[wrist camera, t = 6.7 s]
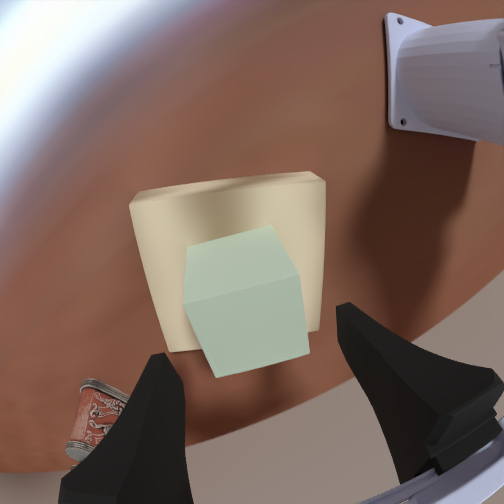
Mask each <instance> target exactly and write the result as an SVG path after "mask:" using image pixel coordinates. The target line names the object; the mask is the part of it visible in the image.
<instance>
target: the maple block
mask: <svg viewBox="0 0 504 504" xmlns="http://www.w3.org/2000/svg"><path fill="white" fill-rule="evenodd" d="M129 208H130V213H131V217H132V222H133V226H134V231H135V235H136V239H137V243H138V248H139V252H140V255H141V259H142V263H143V267H144V271H145V274H146V278H147V282H148V285H149V289H150V292H151V296H152V299H153V302H154V306H155V309H156V312H157V316H158V319H159V322H160V325H161V328H162V331H163V334H164V337H165V340H166V343H167V346H168V349H169V352H178V351H187V350H196V349H202V347H201V345H200V343H199V341H198V338H197V336H196V334H195V332H194V329H193V327H192V325H191V322H190V320H189V318H188V316H187V313H186V311H185V309H184V306H183V293H184V277H185V263H186V250H187V247H189V246H192V245H196V244H200V243H204V242H207V241H211V240H215V239H219V238H223V237H226V236H230V235H234V234H238V233H242V232H246V231H250V230H253V229H257V228H261V227H265V226H269V225H272V227H273V229H274V231H275V232H276V234H277V236H278V238H279V239H280V241H281V243H282V245H283V246H284V248H285V250H286V252H287V253H288V255H289V257H290V259H291V260H292V262H293V264H294V266H295V267H296V269H297V271H298V273H299V276H300V282H301V289H302V296H303V304H304V311H305V318H306V326H307V332H311V331H316V330H319V323H320V311H321V297H322V282H323V265H324V244H325V212H326V181H324V180H323V179H321V178H320V177H318V176H317V175H315V174H314V173H312V172H310V171H307V172H293V173H281V174H269V175H259V176H249V177H240V178H231V179H222V180H214V181H206V182H199V183H191V184H184V185H177V186H171V187H164V188H158V189H152V190H146V191H140V192H138V193H137V194H136V196H135V197H134V199H133V200H132V201H131V203H130V204H129Z"/></svg>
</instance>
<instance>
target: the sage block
mask: <svg viewBox="0 0 504 504" xmlns="http://www.w3.org/2000/svg"><path fill="white" fill-rule="evenodd" d="M183 306H184V309H185V311H186V313H187V316H188V318H189V320H190V322H191V325H192V327H193V329H194V332H195V334H196V336H197V338H198V341H199V343H200V345H201V347H202V349H203V352H204V354H205V356H206V358H207V360H208V362H209V364H210V366H211V369H212V371H213V373H214V375H215V377H216V378H218V377H222V376H227V375H231V374H236V373H240V372H244V371H248V370H252V369H256V368H260V367H264V366H268V365H271V364H275V363H279V362H282V361H286V360H290V359H293V358H296V357H300V356H303V355H307V354H310V350H309V342H308V334H307V326H306V318H305V311H304V304H303V296H302V289H301V282H300V276H299V273H298V271H297V269H296V267H295V266H294V264H293V262H292V260H291V259H290V257H289V255H288V253H287V252H286V250H285V248H284V246H283V245H282V243H281V241H280V239H279V238H278V236H277V234H276V232H275V231H274V229H273V227H272V225H269V226H265V227H261V228H257V229H253V230H250V231H246V232H242V233H238V234H234V235H230V236H226V237H223V238H219V239H215V240H211V241H207V242H204V243H200V244H196V245H192V246H189V247H187V250H186V263H185V277H184V293H183Z"/></svg>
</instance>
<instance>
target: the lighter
mask: <svg viewBox="0 0 504 504" xmlns="http://www.w3.org/2000/svg"><path fill="white" fill-rule="evenodd" d="M80 393H81V396H80V400H79V404H78V407H77V412H76V416H75V420H74V424H73V428H72V433H71V438H70V442H68V443H67V446H66V454H67V455H68V456H70V457H71V458H73V459H75V460H77V461H78V462H80V463H81V462H82V461H83V460H84V459H85V458H86V457H87V456H88V455H89V454H90V453H91V452H92V451H93V449H94V448H95V447H96V446H97V445H98V444H99V442H100V441H101V440H102V439H103V438H104V436H105V435H106V434H107V433H108V431H109V430H110V428H111V427H112V426H113V424H114V423H115V421H116V420H117V418H118V417H119V415H120V414H121V412H122V410H123V408H124V407H125V405H126V403H127V401H128V400H129V398H130V396H128V395H126V394H125V393H123V392H121V391H119V390H117V389H115V388H113V387H111V386H109V385H107V384H105V383H103V382H101V381H99V380H96V379H86V380H84V381H83V382H82V385H81V389H80ZM75 467H76V465H73V466H71V470H73V469H74V468H75Z"/></svg>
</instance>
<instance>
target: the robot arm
mask: <svg viewBox="0 0 504 504" xmlns="http://www.w3.org/2000/svg"><path fill="white" fill-rule="evenodd" d="M384 19H385V30H386V42H387V60H388V122H389V125H390V126H391V127H392V128H394V129H400V130H409V131H417V132H425V133H432V134H439V135H445V136H451V137H457V138H462V139H468V140H473V141H480V140H484V141H488V142H491V143H494V144H498V145H501V146H504V18H503V19H488V20H477V21H468V22H460V23H453V24H447V25H441V26H435V27H433V26H431V25H428V24H425V23H422V22H420V21H417V20H414V19H411V18H408V17H405V16H402V15H398V14H395V13H388V14H386V15H385V18H384ZM397 19H398V20H399V21H400V24H399V23H398V22H397ZM401 119H403V125H401ZM336 319H337V336H338V343H339V345H340V347H341V350H342V352H343V354H344V357H345V359H346V361H347V363H348V365H349V366H350V368H351V370H352V371H353V373H354V375H355V377H356V378H357V380H358V382H359V383H360V385H361V387H362V389H363V390H364V392H365V394H366V395H367V397H368V399H369V401H370V403H371V405H372V406H373V409H374V411H375V414H376V416H377V419H378V421H379V423H380V426H381V428H382V431H383V433H384V436H385V439H386V441H387V444H388V447H389V450H390V453H391V456H392V459H393V462H394V465H395V468H396V472H397V475H398V478H399V482H400V485H399V486H397V487H395V488H393V489H390V490H388V491H386V492H384V493H381V494H379V495H377V496H374V497H372V498H369V499H367V500H364V501H362V502H359V503H356V504H399V503H402V502H404V501H406V500H408V499H409V500H408V501H407V502H405V503H403V504H481V503H482V502H483V501H484V500H486V499H487V498H488V497H489V496H491V495H492V494H493V493H494V492H496V491H497V490H498V489H499V488H501V487H502V486H503V485H504V416H503V417H502V418H501V419H500V420H499V421H498V422H497V420H496V419H495V416H496V415H497V413H496V411H495V410H494V408H493V407H494V405H495V404H496V402H497V401H498V399H499V398H500V396H501V395H502V393H503V391H504V383H503V381H502V380H501V379H500V377H499V376H498V375H497V374H496V373H495V372H494V370H493V369H491V368H485V367H479V366H473V365H469V364H465V363H461V362H457V361H454V360H451V359H448V358H445V357H442V356H439V355H437V354H434V353H431V352H429V351H427V350H424V349H422V348H420V347H418V346H416V345H414V344H412V343H410V342H408V341H407V340H405V339H403V338H401V337H400V336H398V335H396V334H395V333H393V332H391V331H390V330H388V329H387V328H385V327H384V326H382V325H381V324H379V323H378V322H376V321H375V320H374V319H372V318H371V317H369V316H368V315H367V314H365V313H364V312H363V311H361V310H360V309H359V308H357V307H356V306H355V305H353V304H352V303H350V302H348V303H345V304H342V305H339V306H336ZM58 504H194V502H193V498H192V494H191V489H190V484H189V478H188V472H187V464H186V457H185V397H184V389H183V382H182V380H181V379H180V377H179V375H178V374H177V372H176V371H175V369H174V367H173V366H172V364H171V362H170V361H169V359H168V357H167V356H166V354H165V352H164V353H159V354H155V355H151V357H150V359H149V361H148V363H147V365H146V367H145V369H144V371H143V373H142V375H141V377H140V379H139V381H138V383H137V385H136V386H135V388H134V390H133V392H132V394H131V396H130V398H129V400H128V401H127V403H126V405H125V407H124V408H123V410H122V412H121V414H120V415H119V417H118V418H117V420H116V421H115V423H114V424H113V426H112V427H111V428H110V430H109V431H108V433H107V434H106V435H105V436H104V438H103V439H102V440H101V441H100V442H99V444H98V445H97V446H96V447H95V448H94V449H93V451H92V452H91V453H90V454H89V455H88V456H87V457H86V458H85V459H84V460H83V461H82V462H81V463H80V464H78V465H77V466H76V467H75V468H74V469H73V470H71V471H70V472H69V473H68V474H67V475H65V476H64V477H63V478H62V479H61V485H60V492H59V499H58Z"/></svg>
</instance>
